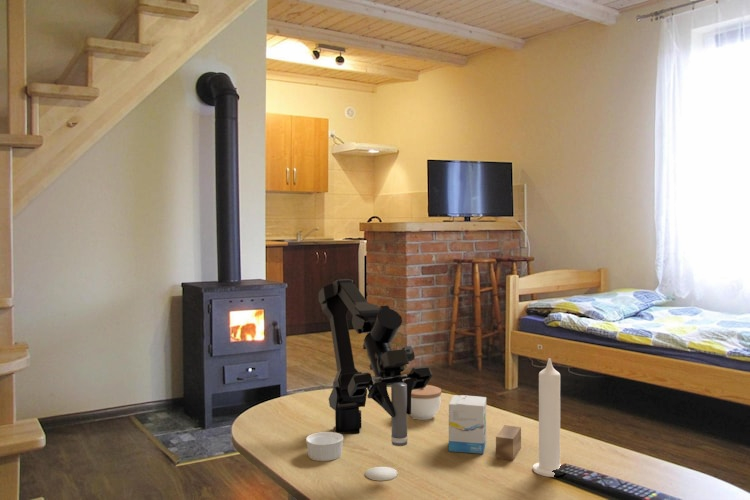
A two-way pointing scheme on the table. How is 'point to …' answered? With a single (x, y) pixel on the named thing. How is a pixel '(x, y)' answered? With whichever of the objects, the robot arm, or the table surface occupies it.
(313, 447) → the ramekin
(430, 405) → the lidded jar
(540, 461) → the candle
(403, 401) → the grey tapered rod
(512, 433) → the brown wooden block
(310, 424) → the table surface
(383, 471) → the pad
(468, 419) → the ink box
